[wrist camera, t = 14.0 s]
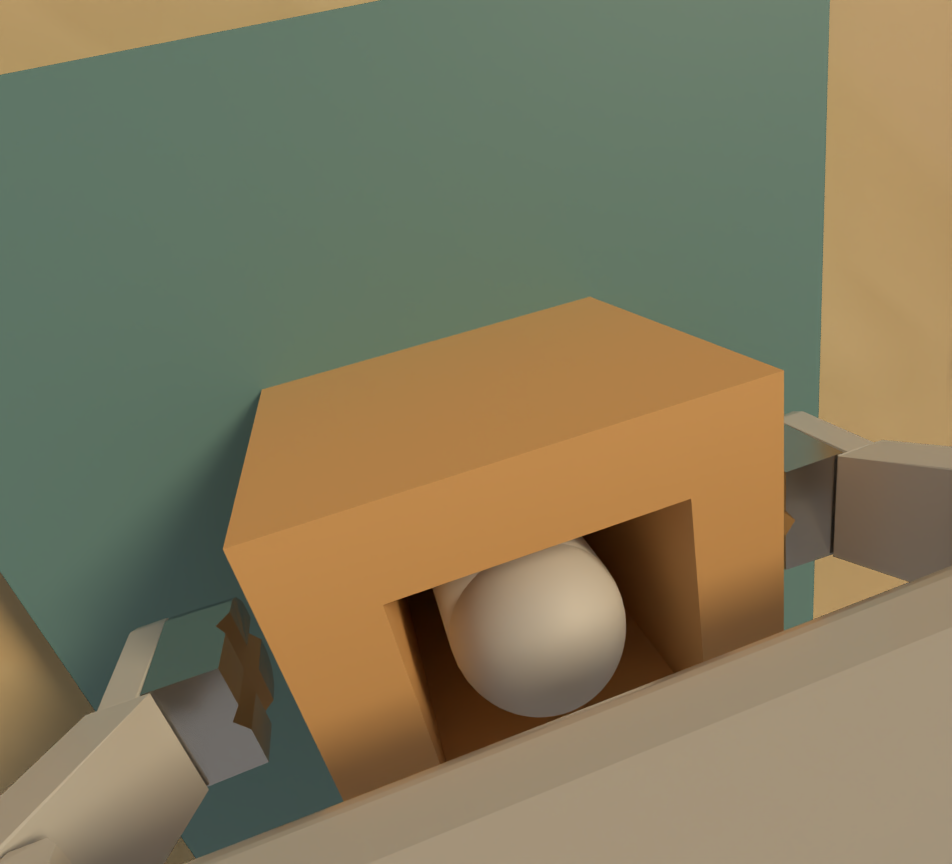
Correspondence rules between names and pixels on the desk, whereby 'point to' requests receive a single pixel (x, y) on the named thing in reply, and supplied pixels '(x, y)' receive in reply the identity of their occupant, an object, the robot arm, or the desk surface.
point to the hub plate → (373, 288)
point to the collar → (503, 516)
